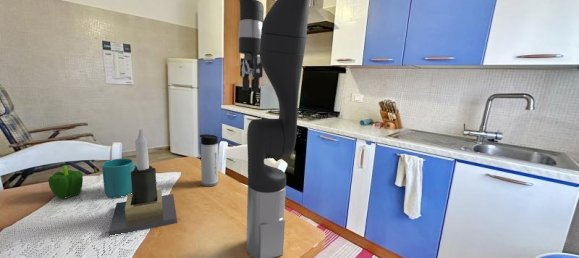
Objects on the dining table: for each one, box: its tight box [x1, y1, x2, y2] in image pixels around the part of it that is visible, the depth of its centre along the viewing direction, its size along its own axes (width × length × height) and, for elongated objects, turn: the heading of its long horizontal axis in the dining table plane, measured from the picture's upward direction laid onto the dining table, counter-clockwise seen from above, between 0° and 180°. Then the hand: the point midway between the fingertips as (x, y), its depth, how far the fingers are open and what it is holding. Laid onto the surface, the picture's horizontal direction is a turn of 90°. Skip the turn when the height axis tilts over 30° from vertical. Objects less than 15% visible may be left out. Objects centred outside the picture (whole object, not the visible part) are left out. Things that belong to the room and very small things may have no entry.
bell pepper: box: [48, 164, 84, 199], centre depth 81 cm, size 8×8×10 cm
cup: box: [101, 157, 137, 198], centre depth 86 cm, size 9×12×11 cm
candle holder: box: [107, 188, 178, 237], centre depth 73 cm, size 16×16×6 cm
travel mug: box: [199, 134, 219, 187], centre depth 95 cm, size 6×7×20 cm
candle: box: [131, 128, 158, 205], centre depth 70 cm, size 5×5×25 cm
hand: (250, 91), depth 78 cm, fingers open, 8 cm apart
